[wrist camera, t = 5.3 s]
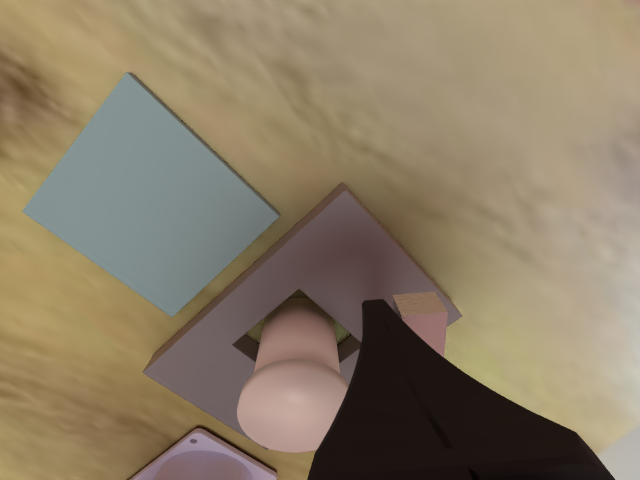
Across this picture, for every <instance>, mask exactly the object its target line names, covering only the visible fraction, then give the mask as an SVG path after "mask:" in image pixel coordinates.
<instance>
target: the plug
mask: <svg viewBox="0 0 640 480" xmlns="http://www.w3.org/2000/svg"><path fill="white" fill-rule="evenodd" d="M348 387H349V386H348V384H347V382H346V380H345V379H344V378H343V377H342V376H341V375H340V368H339V359H338V350H337V342H336V333H335V324H334V320H333V318H332V317H331V316H330V315H329V314H328V313H327V312H325V311H324V310H323V309H322V308H321V307H320V306H318V305H317V304H316V303H315V302H314V301H313V300H311V299H306V298H292V299H287V300H285V301H283V302H282V303H281V304H280V305H279V306H278V307H276V308H275V309H274V310H273V311H272V312H270V313H269V314H268V315H267V316H266V317H265V320H264V325H263V330H262V335H261V340H260V345H259V350H258V354H257V359H256V364H255V369H254V373H253V374H252V375H251V376H250V377H249V378H248V379H247V380H246V382H245V384H244V385H243V388H242V390H241V394H240V398H239V402H238V407H237V418H238V422H239V424H240V426H241V428H242V430H243V431H244V432H245V434H246V435H247V436H248V437H249V438H251V439H252V440H253V441H255V442H256V443H258V444H260V445H262V446H264V447H266V448H269V449H272V450H276V451H281V452H290V453H299V452H308V451H313V450H317V449H318V447H319V445H320V444H321V442H322V440H323V439H324V437H325V435H326V433H327V432H328V430H329V428H330V426H331V424H332V423H333V420H334V418H335V416H336V414H337V412H338V410H339V408H340V406H341V404H342V402H343V399H344V397H345V395H346V392H347V389H348Z"/></svg>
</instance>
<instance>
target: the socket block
mask: <svg viewBox="0 0 640 480" xmlns="http://www.w3.org/2000/svg"><path fill="white" fill-rule="evenodd" d="M298 289H300V290H301V291H302V292H304V293H305V294H306V295H307V296H308V297H309V298H310V299H312V300H313V301H314V302H315V303H316V304H317V305H318V306H320V307H321V308H322V309H323V310H324V311H325V312H327V313H328V314H329V315H330V316H331V317H332V318H333V319H335V320H336V321H337V322H338V323H339V324H340V325H341V326H343V327H344V328H345V329H346V330H347V331H348V332H349V333H351V334H352V335H351V336H350V337H348V338H347V339H346V340H344V341H343V342H342V343H340V344H339V345H338V346H337V350H338V359H339V368H340V375H341V376H342V377H343V378H344V379H345V380H346V382H347V384H348V386H349V384H350V381H351V379H352V376H353V373H354V370H355V366H356V363H357V359H358V355H359V351H360V346H361V341H362V335H363V331H362V303H363V302H364V301H365V300H376V299H384V300H385V301H386V302H387V303H388V304H389V306H390V307H391V308H392V299H393V295H400V294H411V293H422V292H433V291H435V293H436V295H437V296H438V298H439V299H440V301H441V302H442V304H443V305H444V307H445V308H446V310H447V311H448V316H447V326H449V325H450V324H452V323H453V322H454V321H456V320H457V319H459V318H460V317H462V315H461V313H460V312H459V311H458V309H457V308H456V306H455V305H454V304H453V302H452V301H451V300H450V299H449V298H448V296H447V295H446V294H445V293H444V292H443V291H442V290H441V289H440V288H439V287H438V286H437V285H436V283H435V282H434V281H433V280H432V279H431V278H430V277H429V276H428V275H427V274H426V273H425V272H424V270H423V269H422V268H421V267H420V266H419V265H418V264H417V263H416V262H415V261H414V260H413V258H412V257H411V256H410V255H409V254H408V253H407V252H406V251H405V250H404V249H403V248H402V247H401V245H400V244H399V243H398V242H397V241H396V240H395V239H394V238H393V237H392V236H391V235H390V234H389V232H388V231H387V230H386V229H385V228H384V227H383V226H382V225H381V224H380V223H379V222H378V221H377V219H376V218H375V217H374V216H373V215H372V214H371V213H370V212H369V211H368V210H367V209H366V208H365V206H364V205H363V204H362V203H361V202H360V201H359V200H358V199H357V198H356V197H355V196H354V194H353V193H352V192H351V191H350V190H349V189H348V188H347V187H346V186H345V185H344V184H343V183H341V184H340V185H339V186H338V187H337V188H336V189H335V190H334V191H332V192H331V193H330V194H329V195H328V196H327V197H326V198H325V199H324V200H323V201H321V202H320V203H319V204H318V205H317V206H316V207H315V208H314V209H313V210H312V211H310V212H309V213H308V214H307V215H306V216H305V217H304V218H303V219H302V220H301V221H300V222H298V223H297V224H296V225H295V226H294V227H293V228H292V229H291V230H290V231H289V232H287V233H286V234H285V235H284V236H283V237H282V238H281V239H280V240H279V241H278V242H276V243H275V244H274V245H273V246H272V247H271V248H270V249H269V250H268V251H267V252H266V253H264V254H263V255H262V256H261V257H260V258H259V259H258V260H257V261H256V262H255V263H253V264H252V265H251V266H250V267H249V268H248V269H247V270H246V271H245V272H244V273H242V274H241V275H240V276H239V277H238V278H237V279H236V280H235V281H234V282H233V283H231V284H230V285H229V286H228V287H227V288H226V289H225V290H224V291H223V292H222V293H221V294H219V295H218V296H217V297H216V298H215V299H214V300H213V301H212V302H211V303H210V304H208V305H207V306H206V307H205V308H204V309H203V310H202V311H201V312H200V313H199V314H197V315H196V316H195V317H194V318H193V319H192V320H191V321H190V322H189V323H188V324H187V325H185V326H184V327H183V328H182V329H181V330H180V331H179V332H178V333H177V334H176V335H174V336H173V337H172V338H171V339H170V340H169V341H168V342H167V343H166V344H165V345H163V346H162V347H161V348H160V349H159V350H158V351H157V352H156V353H155V354H154V355H153V356H152V358H151V360H150V361H149V363H148V365H147V366H146V368H145V369H144V371H143V374H145V375H147V376H148V377H150V378H151V379H153V380H155V381H156V382H158V383H159V384H161V385H163V386H164V387H166V388H168V389H169V390H171V391H172V392H174V393H176V394H177V395H179V396H181V397H182V398H184V399H185V400H187V401H189V402H190V403H192V404H193V405H195V406H197V407H198V408H200V409H202V410H203V411H205V412H206V413H208V414H210V415H211V416H213V417H214V418H216V419H218V420H219V421H221V422H223V423H224V424H226V425H227V426H229V427H231V428H232V429H234V430H236V431H237V432H239V433H240V434H242V435H244V436H245V437H247V438H248V439H250V440H252V439H251V438H249V437H248V436H247V435H246V434H245V432H244V431H243V430H242V428H241V426H240V424H239V422H238V418H237V407H238V402H239V398H240V394H241V390H242V388H243V385H244V384H245V382H246V380H247V379H248V378H249V377H250V376H251V375H252V374H253V373H254V369H255V364H256V359H257V354H258V350H259V344H258V343H256V342H255V341H254V340H252V339H251V338H250V337H248V336H247V335H246V334H245V333H246V332H248V331H249V330H250V329H251V328H252V327H254V326H255V325H256V324H257V323H258V322H260V321H261V320H262V319H263V318H264V317H266V316H267V315H268V314H269V313H270V312H272V311H273V310H274V309H275V308H276V307H278V306H279V305H280V304H281V303H282V302H283V301H285V300H286V299H287V298H288V297H289V296H291V295H292V294H293V293H294V292H295V291H297V290H298ZM252 441H253V440H252ZM253 442H255V441H253ZM255 443H256V442H255ZM257 444H258V443H257ZM258 445H260V444H258ZM260 446H261V447H263V448H265V449H266V450H267V449H269V448H266V447H264V446H262V445H260Z"/></svg>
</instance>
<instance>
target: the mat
mask: <svg viewBox="0 0 640 480" xmlns="http://www.w3.org/2000/svg"><path fill="white" fill-rule="evenodd" d="M22 212H23V213H25V214H26V215H28V216H29V217H30V218H32V219H33V220H35V221H36V222H38V223H39V224H40V225H42V226H43V227H45V228H46V229H47V230H49V231H50V232H52V233H53V234H55V235H56V236H57V237H59V238H60V239H62V240H63V241H64V242H66V243H67V244H69V245H70V246H72V247H73V248H74V249H76V250H77V251H79V252H80V253H81V254H83V255H84V256H86V257H87V258H89V259H90V260H91V261H93V262H94V263H96V264H97V265H98V266H100V267H101V268H103V269H104V270H106V271H107V272H108V273H110V274H111V275H113V276H114V277H115V278H117V279H118V280H120V281H121V282H123V283H124V284H125V285H127V286H128V287H130V288H131V289H133V290H134V291H135V292H137V293H138V294H140V295H141V296H142V297H144V298H145V299H147V300H148V301H150V302H151V303H152V304H154V305H155V306H157V307H158V308H159V309H161V310H162V311H164V312H165V313H167V314H168V315H169V316H171V317H173V316H174V315H175V314H176V313H177V312H178V311H179V310H180V309H181V308H183V307H184V306H185V305H186V304H187V303H188V302H189V301H190V300H191V299H192V298H193V297H194V296H195V295H196V294H197V293H199V292H200V291H201V290H202V289H203V288H204V287H205V286H206V285H207V284H208V283H209V282H210V281H211V280H212V279H213V278H215V277H216V276H217V275H218V274H219V273H220V272H221V271H222V270H223V269H224V268H225V267H226V266H227V265H228V264H229V263H231V262H232V261H233V260H234V259H235V258H236V257H237V256H238V255H239V254H240V253H241V252H242V251H243V250H244V249H245V248H247V247H248V246H249V245H250V244H251V243H252V242H253V241H254V240H255V239H256V238H257V237H258V236H259V235H260V234H261V233H263V232H264V231H265V230H266V229H267V228H268V227H269V226H270V225H271V224H272V223H273V222H274V221H275V220H276V219H277V218H279V216H280V214H279V213H278V212H277V211H276V210H275V209H274V208H273V207H272V206H271V205H270V204H269V203H268V202H267V201H266V200H265V199H264V198H262V197H261V196H260V195H259V194H258V193H257V192H256V191H255V190H254V189H253V188H252V187H251V186H250V185H249V184H248V183H247V182H246V181H245V180H244V179H242V178H241V177H240V176H239V175H238V174H237V173H236V172H235V171H234V170H233V169H232V168H231V167H230V166H229V165H228V164H227V163H226V162H225V161H224V160H222V159H221V158H220V157H219V156H218V155H217V154H216V153H215V152H214V151H213V150H212V149H211V148H210V147H209V146H208V145H207V144H206V143H205V142H203V141H202V140H201V139H200V138H199V137H198V136H197V135H196V134H195V133H194V132H193V131H192V130H191V129H190V128H189V127H188V126H187V125H186V124H185V123H183V122H182V121H181V120H180V119H179V118H178V117H177V116H176V115H175V114H174V113H173V112H172V111H171V110H170V109H169V108H168V107H167V106H166V105H165V104H163V103H162V102H161V101H160V100H159V99H158V98H157V97H156V96H155V95H154V94H153V93H152V92H151V91H150V90H149V89H148V88H147V87H146V86H145V85H143V84H142V83H141V82H140V81H139V80H138V79H137V78H136V77H135V76H134V75H133V74H132V73H128V72H126V74H125V75H124V76H123V78H122V79H121V80H120V82H119V83H118V84H117V86H116V87H115V88H114V90H113V91H112V92H111V94H110V95H109V96H108V98H107V99H106V100H105V102H104V103H103V104H102V106H101V107H100V108H99V110H98V111H97V112H96V114H95V115H94V116H93V118H92V119H91V120H90V122H89V123H88V124H87V126H86V127H85V128H84V130H83V131H82V132H81V134H80V135H79V136H78V138H77V139H76V140H75V141H74V143H73V144H72V145H71V147H70V148H69V149H68V151H67V152H66V153H65V155H64V156H63V157H62V159H61V160H60V161H59V163H58V164H57V165H56V167H55V168H54V169H53V171H52V172H51V173H50V175H49V176H48V177H47V179H46V180H45V181H44V183H43V184H42V185H41V187H40V188H39V189H38V191H37V192H36V193H35V195H34V196H33V197H32V199H31V200H30V201H29V203H28V204H27V205H26V207H25V208H24V209H23V211H22Z"/></svg>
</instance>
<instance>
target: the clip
mask: <svg viewBox="0 0 640 480" xmlns="http://www.w3.org/2000/svg"><path fill="white" fill-rule="evenodd" d="M392 309H393V310H394V311H395V312H396V313H397V315H398V316H399V317H400V318H401V319H402V320H403V321H404V322H405V323H406V324H407V325H408V326H409V327H410V328H411V329H412V330H413V331H414V332H415V333H416V334H417V335H418V336H419V337H420V338H421V339H423V340H424V341H425V342H426V343H427V344H428V345H429V346H430V347H432V348H433V349H434V350H435V351H436V352H437V353H439V354H440V355H441V356H442V357H444V348H445V338H446V327H447V316H448V311H447V310H446V308H445V307H444V305H443V304H442V302H441V301H440V299H439V298H438V296H437V295H436V293H435V291H433V292H422V293H411V294H400V295H393V299H392Z"/></svg>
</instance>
